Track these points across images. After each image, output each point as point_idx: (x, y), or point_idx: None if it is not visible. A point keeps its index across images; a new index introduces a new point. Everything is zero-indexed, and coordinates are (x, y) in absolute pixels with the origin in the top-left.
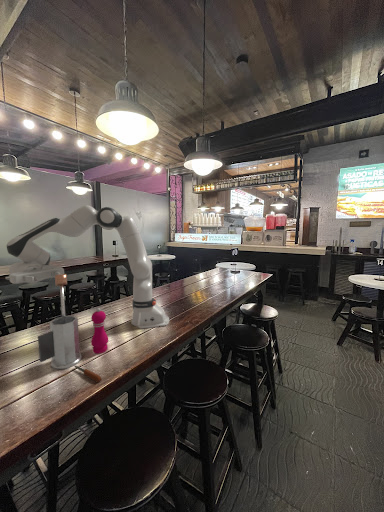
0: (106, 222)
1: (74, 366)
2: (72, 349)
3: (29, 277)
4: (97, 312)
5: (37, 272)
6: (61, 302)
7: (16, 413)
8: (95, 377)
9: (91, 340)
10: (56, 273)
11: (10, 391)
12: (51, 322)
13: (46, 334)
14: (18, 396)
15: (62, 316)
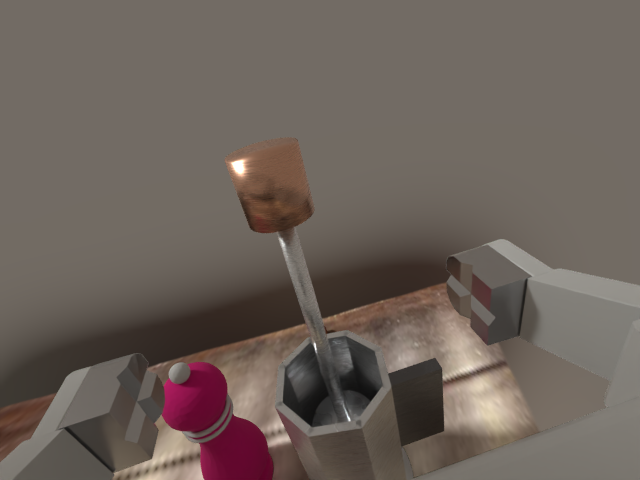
0: None
1: None
2: None
3: (569, 285)
4: (192, 372)
5: (471, 470)
6: (316, 301)
7: (472, 332)
8: (326, 331)
9: (259, 459)
10: (134, 357)
11: (516, 414)
12: (383, 381)
13: (409, 367)
14: (485, 380)
15: (332, 357)
